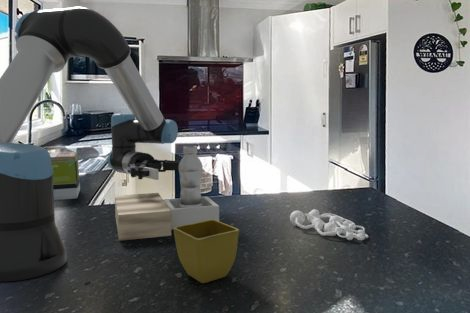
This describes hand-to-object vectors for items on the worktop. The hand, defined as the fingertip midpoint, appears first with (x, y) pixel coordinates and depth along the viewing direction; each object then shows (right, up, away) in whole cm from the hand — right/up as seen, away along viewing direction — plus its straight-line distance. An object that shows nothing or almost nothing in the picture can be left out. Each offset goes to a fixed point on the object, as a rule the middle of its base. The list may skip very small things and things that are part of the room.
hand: (178, 171), depth 113 cm
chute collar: (+4, -13, -3) cm, 14 cm away
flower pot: (+10, -18, -39) cm, 44 cm away
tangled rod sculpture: (+39, -14, -11) cm, 43 cm away
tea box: (-44, -10, +31) cm, 55 cm away
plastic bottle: (+4, -13, -2) cm, 14 cm away
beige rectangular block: (-9, -14, -7) cm, 17 cm away
